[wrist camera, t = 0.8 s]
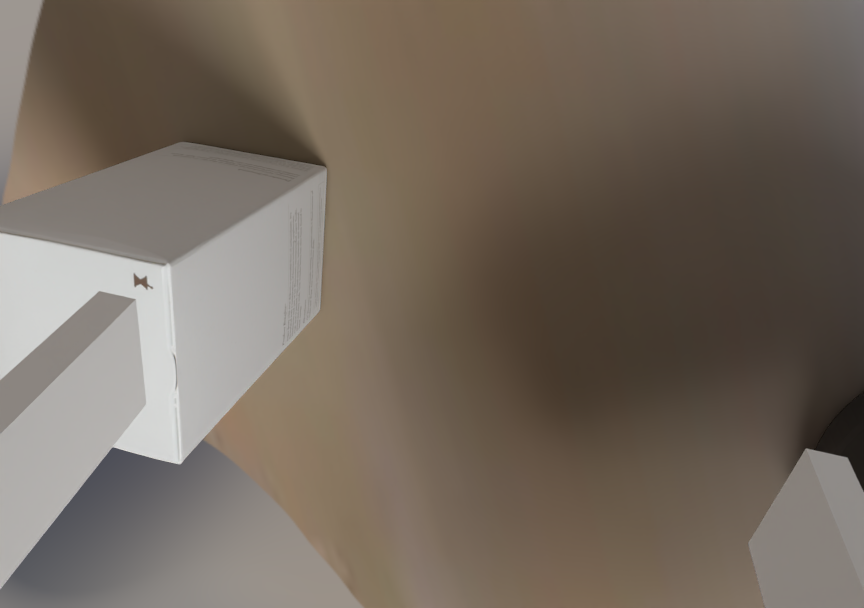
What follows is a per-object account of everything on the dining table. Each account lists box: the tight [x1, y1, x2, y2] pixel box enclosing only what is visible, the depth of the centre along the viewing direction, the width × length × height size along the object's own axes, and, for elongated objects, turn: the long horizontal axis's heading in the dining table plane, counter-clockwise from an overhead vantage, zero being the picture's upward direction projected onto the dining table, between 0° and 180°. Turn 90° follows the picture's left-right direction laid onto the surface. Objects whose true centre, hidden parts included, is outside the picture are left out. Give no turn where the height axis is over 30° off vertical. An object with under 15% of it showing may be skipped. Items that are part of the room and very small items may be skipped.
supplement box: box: [0, 142, 327, 464], centre depth 33 cm, size 9×9×15 cm
